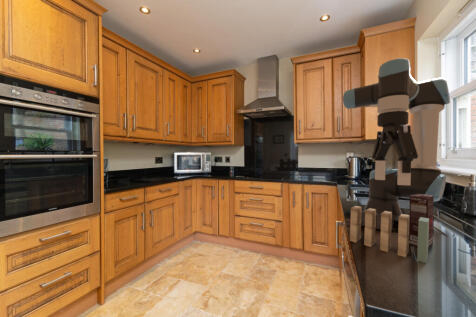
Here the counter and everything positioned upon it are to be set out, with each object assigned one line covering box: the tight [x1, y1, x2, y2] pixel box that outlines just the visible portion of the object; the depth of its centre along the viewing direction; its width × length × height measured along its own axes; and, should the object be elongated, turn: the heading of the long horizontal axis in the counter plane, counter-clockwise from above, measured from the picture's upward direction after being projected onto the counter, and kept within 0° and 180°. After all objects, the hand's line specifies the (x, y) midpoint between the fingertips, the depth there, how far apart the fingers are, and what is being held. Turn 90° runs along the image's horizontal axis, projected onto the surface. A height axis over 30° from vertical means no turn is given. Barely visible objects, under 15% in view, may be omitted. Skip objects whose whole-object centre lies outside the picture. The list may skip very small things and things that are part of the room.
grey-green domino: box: [416, 217, 429, 264], centre depth 55 cm, size 5×2×11 cm, turn 133°
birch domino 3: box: [379, 211, 393, 253], centre depth 61 cm, size 5×2×11 cm, turn 133°
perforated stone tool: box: [349, 210, 395, 230], centre depth 80 cm, size 15×5×7 cm, turn 58°
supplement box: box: [408, 194, 434, 247], centre depth 67 cm, size 9×5×16 cm, turn 126°
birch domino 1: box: [349, 205, 363, 243], centre depth 68 cm, size 5×2×11 cm, turn 133°
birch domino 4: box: [397, 213, 410, 258], centre depth 58 cm, size 5×2×11 cm, turn 133°
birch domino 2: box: [363, 208, 377, 248], centre depth 64 cm, size 5×2×11 cm, turn 133°
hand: (390, 182), depth 61 cm, fingers open, 13 cm apart
